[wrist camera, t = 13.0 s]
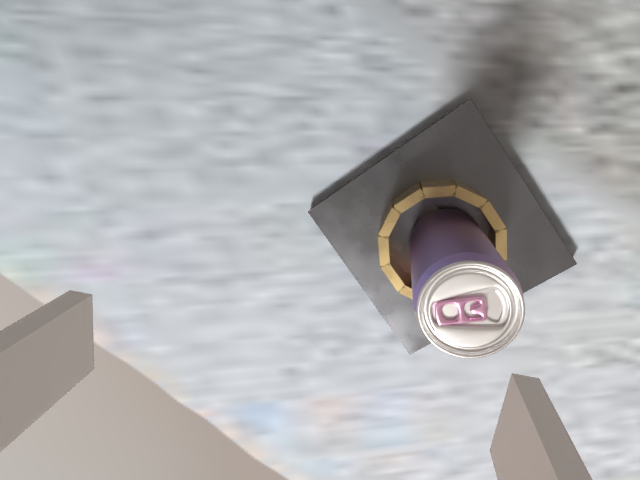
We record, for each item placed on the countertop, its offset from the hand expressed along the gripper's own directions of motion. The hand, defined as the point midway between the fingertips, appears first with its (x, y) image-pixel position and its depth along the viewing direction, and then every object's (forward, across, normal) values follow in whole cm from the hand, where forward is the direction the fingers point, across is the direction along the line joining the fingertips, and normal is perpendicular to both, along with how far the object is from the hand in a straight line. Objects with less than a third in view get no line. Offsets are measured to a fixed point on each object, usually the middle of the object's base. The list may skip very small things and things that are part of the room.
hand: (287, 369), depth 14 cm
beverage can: (+27, +8, -2) cm, 28 cm away
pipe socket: (+28, +7, -2) cm, 29 cm away
